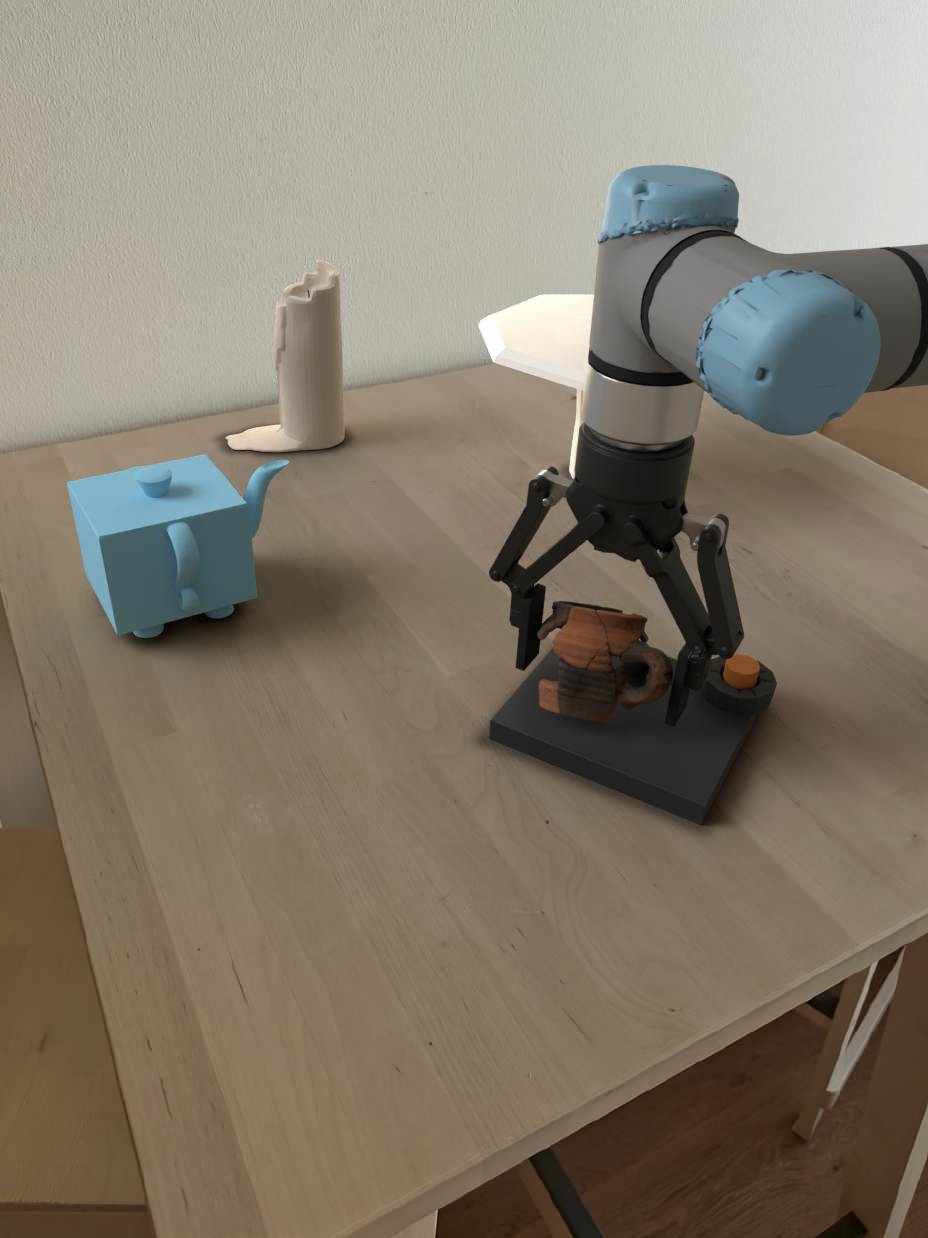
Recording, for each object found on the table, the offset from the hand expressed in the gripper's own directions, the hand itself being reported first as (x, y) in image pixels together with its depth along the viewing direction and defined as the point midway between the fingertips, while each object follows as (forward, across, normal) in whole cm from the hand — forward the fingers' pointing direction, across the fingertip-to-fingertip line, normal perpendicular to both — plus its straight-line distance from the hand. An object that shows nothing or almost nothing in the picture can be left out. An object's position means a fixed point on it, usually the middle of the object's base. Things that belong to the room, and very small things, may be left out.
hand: (599, 687), depth 78 cm
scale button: (0, -9, -7) cm, 11 cm away
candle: (+3, +52, -27) cm, 58 cm away
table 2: (+3, +18, -39) cm, 43 cm away
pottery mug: (+1, 0, 0) cm, 1 cm away
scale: (+3, -2, -1) cm, 4 cm away
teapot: (+3, +38, +3) cm, 38 cm away
